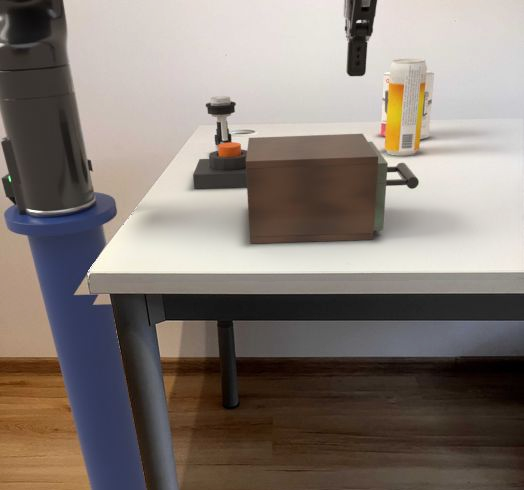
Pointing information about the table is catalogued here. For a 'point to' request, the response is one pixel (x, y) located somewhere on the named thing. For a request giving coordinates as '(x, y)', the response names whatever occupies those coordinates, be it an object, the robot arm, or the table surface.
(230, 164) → the control box
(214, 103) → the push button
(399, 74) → the beer can
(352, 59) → the robot arm
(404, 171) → the drawer
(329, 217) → the cabinet
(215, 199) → the table surface
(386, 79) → the ink box
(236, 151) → the button
